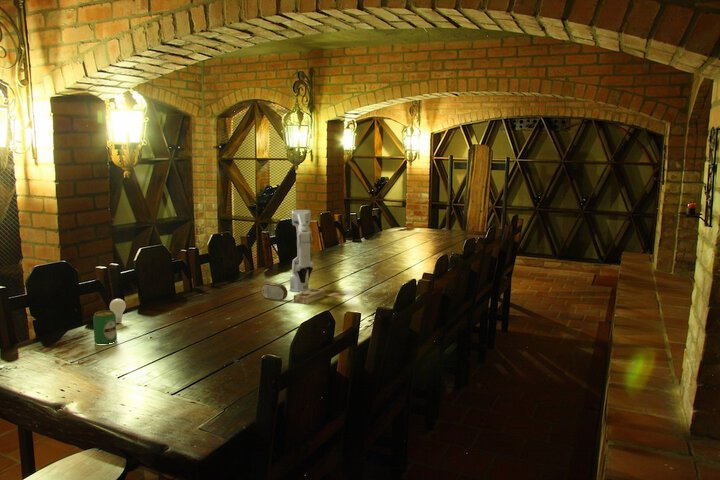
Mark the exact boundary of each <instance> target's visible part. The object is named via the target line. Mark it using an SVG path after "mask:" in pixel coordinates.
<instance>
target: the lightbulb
mask: <svg viewBox="0 0 720 480" xmlns="http://www.w3.org/2000/svg"><path fill="white" fill-rule="evenodd" d="M126 306H127V305H126V302H125V300H123V299H121V298H115V299H112V300H111V301H110V303H109V311H113V312H114V314H115V315H116V324H117V323H120V324H121V323H122V322H123V319H122V317H123V313H124V312H125V310H126V308H127V307H126Z"/></svg>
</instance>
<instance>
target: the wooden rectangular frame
mask: <svg viewBox="0 0 720 480" xmlns="http://www.w3.org/2000/svg"><path fill="white" fill-rule="evenodd" d="M325 296H326V289H323V288H316V287H315V288H314V287H310V288H309V289H308V290H306V291H303V292H298V293H296V294H294V295H293V303H294V304H295V303H297V304H301V305H309V304H311V303H312V302H315V301H317V300H319V299H321V298H323V297H325Z"/></svg>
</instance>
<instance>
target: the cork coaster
mask: <svg viewBox="0 0 720 480" xmlns="http://www.w3.org/2000/svg"><path fill="white" fill-rule="evenodd" d="M347 295H348V293H343V292H342V293H341V292H331V293H329V294H328V295H326V296H327V297H332V298H338V299H341V298H343V297H344V296H347Z"/></svg>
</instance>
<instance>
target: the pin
mask: <svg viewBox="0 0 720 480" xmlns="http://www.w3.org/2000/svg"><path fill="white" fill-rule="evenodd" d="M305 270H308V271H309V269H305ZM308 271H307V273H306V279H305V283H302V288H303V289H307V288H309V282H308Z"/></svg>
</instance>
